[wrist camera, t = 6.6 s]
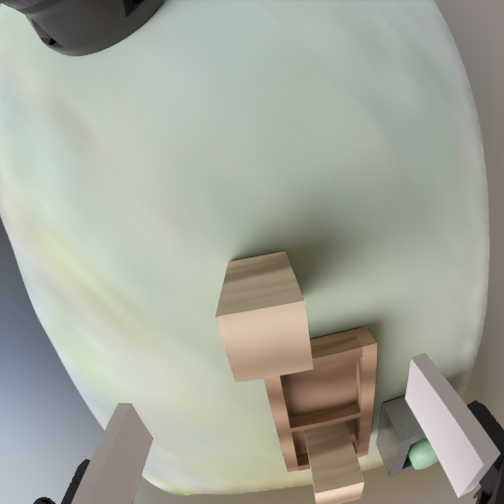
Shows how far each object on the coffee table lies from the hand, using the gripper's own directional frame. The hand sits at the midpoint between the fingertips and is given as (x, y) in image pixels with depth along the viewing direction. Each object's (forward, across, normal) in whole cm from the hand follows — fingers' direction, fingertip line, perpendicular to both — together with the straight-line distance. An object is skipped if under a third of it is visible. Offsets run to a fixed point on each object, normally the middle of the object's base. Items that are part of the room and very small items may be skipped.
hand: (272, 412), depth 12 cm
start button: (+10, +17, -25) cm, 32 cm away
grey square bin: (+16, +17, -25) cm, 34 cm away
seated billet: (+14, +4, -21) cm, 26 cm away
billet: (+15, 0, 0) cm, 15 cm away
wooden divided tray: (+15, +4, -17) cm, 23 cm away
